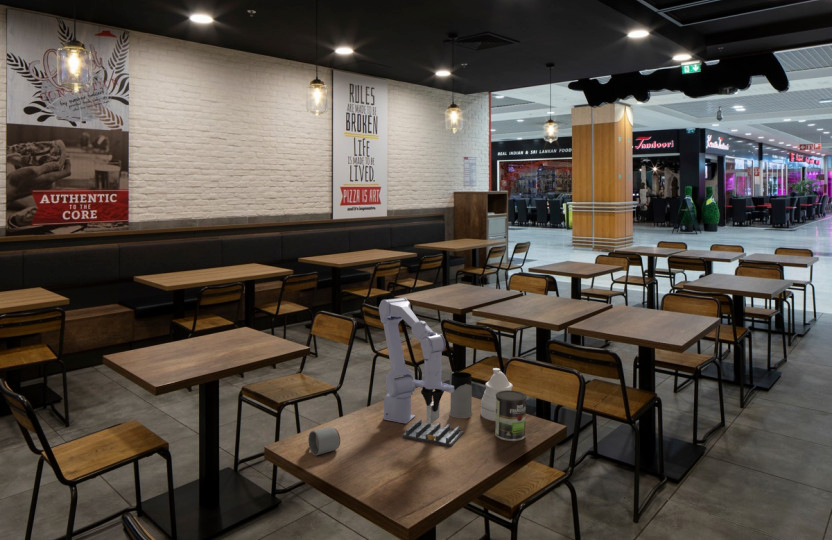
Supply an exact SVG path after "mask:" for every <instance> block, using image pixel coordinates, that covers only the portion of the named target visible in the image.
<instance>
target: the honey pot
mask: <svg viewBox="0 0 832 540" xmlns="http://www.w3.org/2000/svg"><path fill="white" fill-rule="evenodd" d="M492 372H493V374H492V376H491V377H490V379H489V380H488V381H487V382H485V387H486V388H485V390H484V392H483V395H482V398H481V400H480V415H481V417H482V418H483V419H486V420H489V421H492V422H496V393H497V392H500V391H507V390H510V391H513V389H512V388H513V387H514V386H513V383H511V382H510V381H509V380H508V377H507V376H506V374H505V373H504V372H502V371H501V369H500V368H497V367H495V368H494V367H493V368H492Z"/></svg>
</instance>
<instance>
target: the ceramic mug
mask: <svg viewBox="0 0 832 540" xmlns="http://www.w3.org/2000/svg"><path fill="white" fill-rule="evenodd" d="M307 441H308V446H309V449H310V452H311V454H312V455H314V456H316V457H317V456H320V455H323V454H324V455H325V454H326V453H330V452H334V451H335V450H338V449H339V447H340V445H341V436H340V433H339V431H338V429H337V428H336V427H326V428H321V429H320V428H319V429H314V430H311V431H310V432H309V434H308V440H307Z"/></svg>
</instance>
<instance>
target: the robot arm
mask: <svg viewBox="0 0 832 540" xmlns="http://www.w3.org/2000/svg"><path fill="white" fill-rule="evenodd" d="M378 312H379V318H380V322H381V323H382V324H383V329H384V336H385V341H386V346H387V352H388V357H389V363H390V368H391V370H390V371H389V372H388V373H387V374H386V376H385V382H386V383H385V389H386V392H387V394H385V396H384V399H383V417H382V419H383V420H384V421H389V422H396V423H401V424H405V425H406V424H408V423H409V422H410V421H411V420H413V419H414V418H415V417H416V415H415V414H412V405H411V404H412V396H413V394H414V392H415V390H416V388H421V389H422V390H420V394H421V395H422V397H423V399H424V401H425V404H426V406H427V405H428V404H430V403H431V402H433V410H434V412H436V411H437V410H438V406H439V407H440V403H439V402H440V401H441V399H442V396H443V395H444V392H448V393H450V394H451V393H453V392H454V386H452V385H450V384H448V383H445V382H442V369H443V368H442V365H443V364H442V362H443V361H442V357H443V356H442V353H443V351H445V348H446V339H445V338H444V337H445V336H443V334H442V333H437V332H435V331H433V329H432V328H431V327H430V326H429V325H428V323H427V322H426V321H424V320H419V318H418V317H417V316H416V313H414V312H413V310H412V308H411V302H410V301H409V300H408V298H407V297H399V298H398V297H397V298H389V299H382V300H381V301H380V304H379V306H378ZM401 321H404V322H405V323H407V325H408V326H409V327H410V328H411V333H412V335H413V336H414V337H415V338H416V339H417V341H419V343H420V348H421V350H422V357H423V358H424V366H423V367H424V368H423V369H424V373H423V375H424V378H423V380H421V379H420V380H419V379H415V378H414V374H413V371H412V370H411V369H410V368H407V367H406V361H405V356H404V351H403V345H402V341H401V335H400V329H399V324H400V322H401Z"/></svg>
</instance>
